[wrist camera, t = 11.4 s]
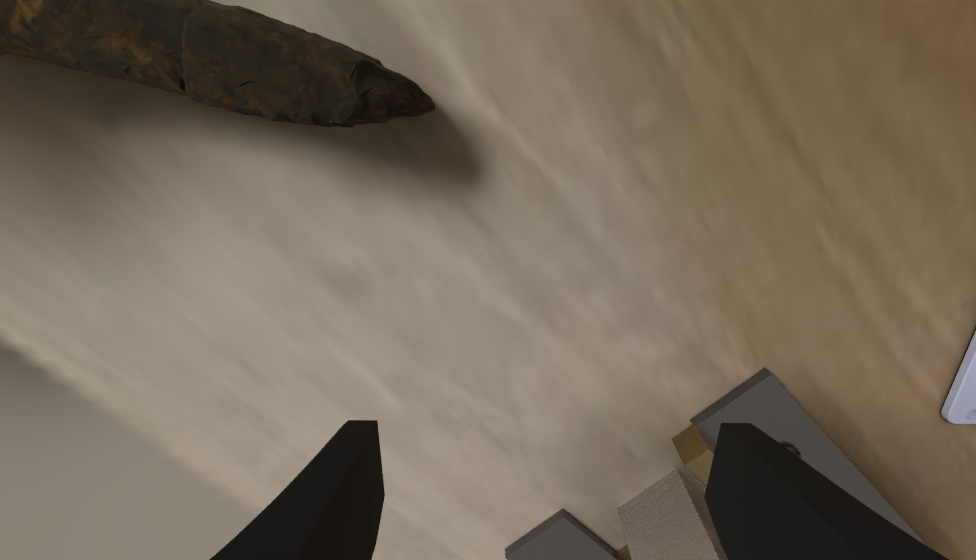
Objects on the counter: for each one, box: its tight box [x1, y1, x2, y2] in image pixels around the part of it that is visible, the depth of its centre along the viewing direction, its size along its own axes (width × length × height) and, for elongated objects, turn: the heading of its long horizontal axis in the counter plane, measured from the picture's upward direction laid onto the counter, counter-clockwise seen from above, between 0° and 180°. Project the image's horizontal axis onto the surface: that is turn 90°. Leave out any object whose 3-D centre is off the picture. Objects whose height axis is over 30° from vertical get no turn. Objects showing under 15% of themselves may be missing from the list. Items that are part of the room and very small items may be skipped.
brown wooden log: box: [0, 0, 435, 127], centre depth 14 cm, size 19×4×5 cm, turn 73°
